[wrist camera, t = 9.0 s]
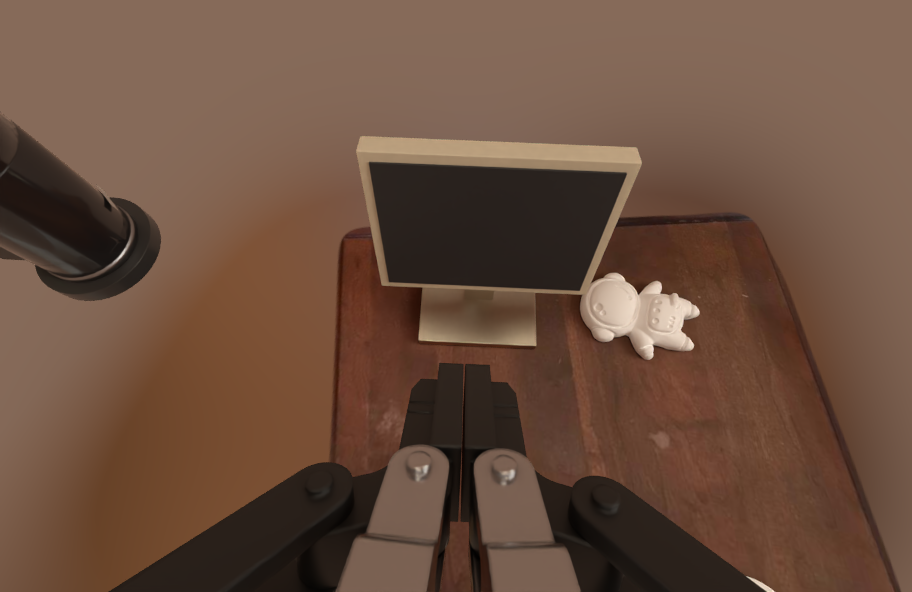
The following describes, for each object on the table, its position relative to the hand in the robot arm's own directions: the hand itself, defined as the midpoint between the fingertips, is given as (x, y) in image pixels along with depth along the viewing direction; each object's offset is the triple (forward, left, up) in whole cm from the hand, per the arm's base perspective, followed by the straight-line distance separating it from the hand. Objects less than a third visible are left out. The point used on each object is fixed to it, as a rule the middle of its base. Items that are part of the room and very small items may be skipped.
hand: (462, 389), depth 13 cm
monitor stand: (+2, +15, -31) cm, 34 cm away
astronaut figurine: (+19, +14, -31) cm, 39 cm away
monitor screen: (+2, +13, -20) cm, 24 cm away
